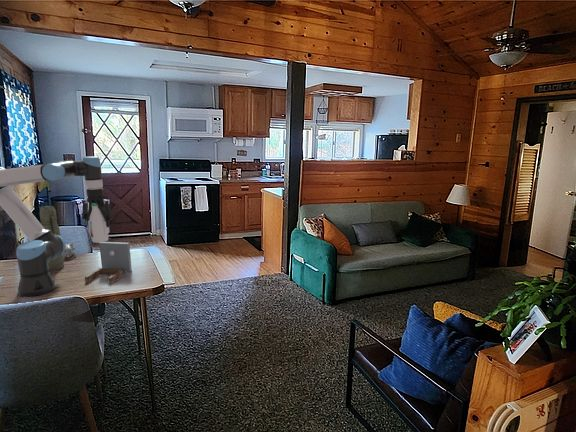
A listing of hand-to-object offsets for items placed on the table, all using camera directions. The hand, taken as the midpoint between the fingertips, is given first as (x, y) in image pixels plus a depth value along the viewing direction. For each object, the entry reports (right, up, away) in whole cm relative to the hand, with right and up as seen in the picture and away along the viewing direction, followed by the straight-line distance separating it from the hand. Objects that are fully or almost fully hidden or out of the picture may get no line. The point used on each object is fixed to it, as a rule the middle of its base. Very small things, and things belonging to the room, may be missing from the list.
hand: (99, 232), depth 192 cm
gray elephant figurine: (-40, -16, +41) cm, 59 cm away
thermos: (-36, -21, +22) cm, 47 cm away
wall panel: (+1, -22, +16) cm, 27 cm away
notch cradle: (0, -24, +5) cm, 25 cm away
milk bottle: (0, -4, +1) cm, 4 cm away
